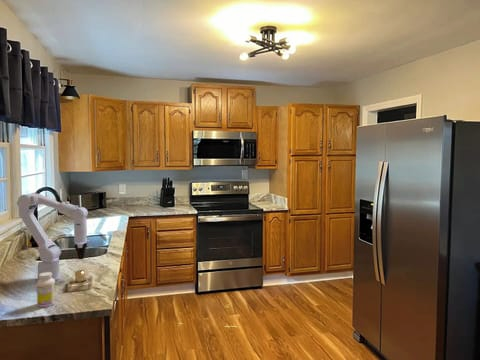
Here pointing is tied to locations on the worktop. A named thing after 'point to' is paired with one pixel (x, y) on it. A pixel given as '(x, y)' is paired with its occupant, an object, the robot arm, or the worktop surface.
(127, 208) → the worktop surface
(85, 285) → the jig
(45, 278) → the supplement bottle
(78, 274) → the brass round peg
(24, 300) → the worktop surface
